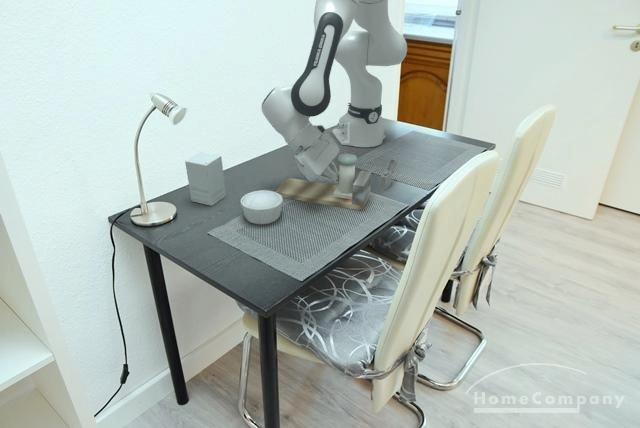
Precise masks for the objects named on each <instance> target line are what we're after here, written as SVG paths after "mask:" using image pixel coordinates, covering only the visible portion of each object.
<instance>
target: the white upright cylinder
mask: <svg viewBox="0 0 640 428" xmlns="http://www.w3.org/2000/svg"><path fill="white" fill-rule="evenodd" d="M337 156H338V157H337V162H338V164H339V165H338V167H339V169H338V172H339V177H338V184H337V185H338V187H337V188H336V190H335V191H334V193H333V197H337V198H344V199H350V200H352V191H353V184H354V182H355V180H356V178H355V176H356V175H355V174H356V164H357V162H358V156H357V155H355V154H353V153H341V154H339V155H337Z"/></svg>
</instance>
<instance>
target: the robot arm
mask: <svg viewBox="0 0 640 428" xmlns="http://www.w3.org/2000/svg"><path fill="white" fill-rule="evenodd" d="M313 12H314V13H313V25H314V36H313V41H312V45H311V49H310V52H309V56H308V59H307V63H306V66H305V68H304V71H303V73H302V74H301V75H300V76H299V78H298V79H297V80H296V81H295V83H294V84H291V85H288V86H281V87H275V88H273V89H271V90H270V91H269V92H268V94H267V95H266V97H265V98H264V99H263V101H262V103H261V112H262V114H263V116H264V118H265V119H266V120H267V122H268V123H269V125H270V126H271V127H272V128H273V129H274V130H275V132H277V133H278V134H280V135H281V136H282V137H283V139H284V141H285V143H286V144H287V145H288V146H289V148H290V149H291V150H292V151H293V155H294V156H293V157H294V160H295V163H296V166H297V167H298V168H299V171H301V173H302V174H303V176H304V177H305V178H306V179H307V181H311V182H315V181H316V180H317V179H318V178H320V177H321V176H322V174H323V175H324V176H327V178H329V179H330V180H331V181H332V182H336V181H337V180H339V170H338V168H337V166H336V163H335V162H334V159H335V158H336V157H337V156H338V154H339V153H340V151H341V150H340V147H339V146H338V144H337V143H336V141H335V140H334V138H333V137H332V136H331V135H330V134H329V133H327V132H326V131H327V129H326V128H325V126H324V125H322V124H319V125H318V124H317V125H315V124H312V122H311V121H310V118H311V117H318V116H319V115H321V114H323V113H324V112H325V111H326V110H327V108H329V105H330V102H331V100H332V99H331V98H332V97H331V94H332V93H331V85H330V76H331V72H332V67H333V65H334V61H336V62H337V63H338V64H339V65H341V67H342V68H343V69H344V71H345V73H346V74H347V76H348V80H349V85H350V102H348V103H347V107H348V108H347V112H346V113H345V114H344V115H342V116H341V117H340V118H339V119H338V122H337V127H336V128H333V129H332V130H331V133H332V134H333V136H334V137H335V139H337V141H338V142H339V143H340V144H341V145H342V146H352V147H356V148H374V147H377V146H380V145H382V143H383V141H384V140H385V139H386V135H385V134H384V118H383V117H382V111H383V105H382V95H383V84H382V81H381V80H380V79H379V78H378V77H377V76H375V75H373V74H371V73H370V72H368V70H367V68H366V67H367V66H370V67H373V66H374V67H391V66H397V65H401V63H402V62H403V61H404V60H405V58H406V56H407V52H408V44H407V40H406V38H405V37H404V36H403V35H402V34H401V33H399V32H398V31H397V30H396V29H395V28H394V26H393V25H392V23H391V20H390V17H389V0H316V1H315V6H314V11H313ZM353 21H354V22H355V24H357V26H358V27H359V28H362V30H363V29H364V31H362V30H359V31H358V30H350V28H351V26H352V24H353Z"/></svg>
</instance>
